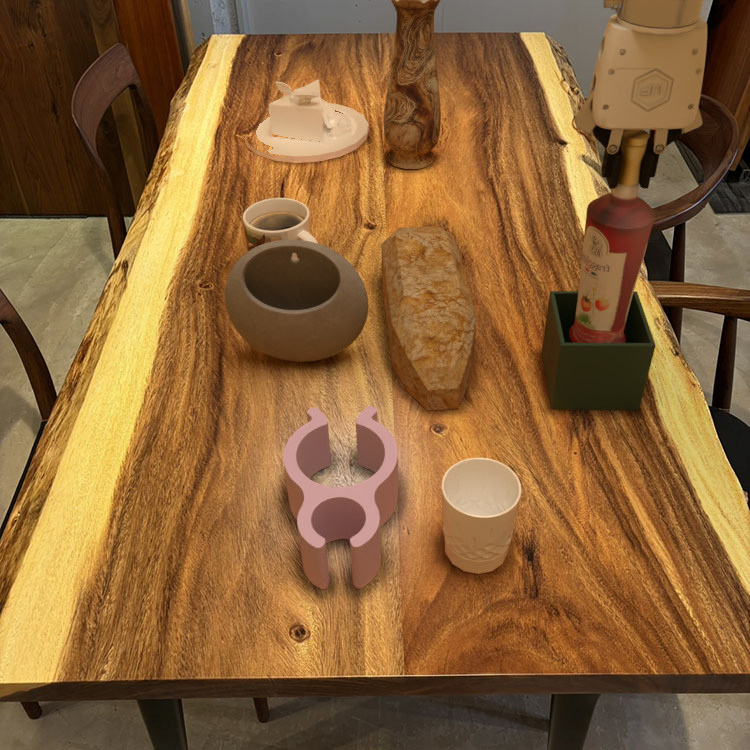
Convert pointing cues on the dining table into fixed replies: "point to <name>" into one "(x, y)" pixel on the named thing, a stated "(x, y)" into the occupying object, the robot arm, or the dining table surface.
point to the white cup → (479, 513)
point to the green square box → (595, 360)
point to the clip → (341, 496)
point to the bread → (428, 315)
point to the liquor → (613, 251)
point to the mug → (277, 222)
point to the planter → (296, 300)
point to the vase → (413, 87)
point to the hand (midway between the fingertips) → (626, 181)
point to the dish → (309, 127)
